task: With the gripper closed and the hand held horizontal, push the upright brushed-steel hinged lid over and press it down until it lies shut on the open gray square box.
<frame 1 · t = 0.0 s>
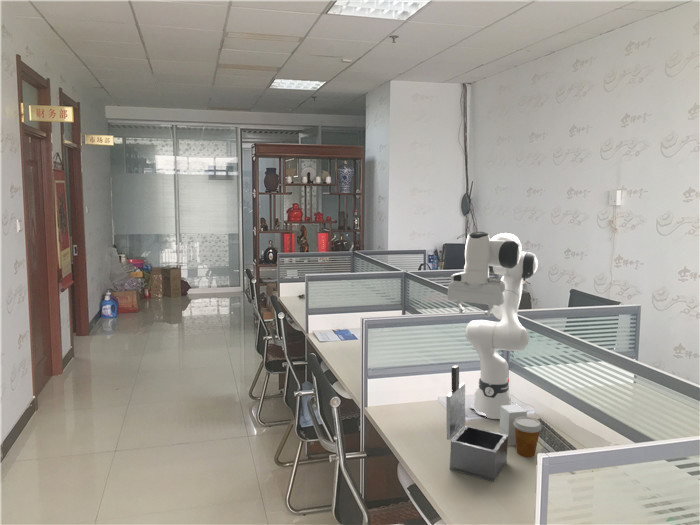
hand: (474, 314, 206), 48 cm above the table, tool pointing down, fingers open, 8 cm apart
open gray square box: (478, 466, 193), on the table
supplement box: (511, 441, 213), on the table
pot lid: (454, 399, 194), point 22 cm above the table, hinge at 93.0°
disposable coffee cup: (525, 454, 202), on the table
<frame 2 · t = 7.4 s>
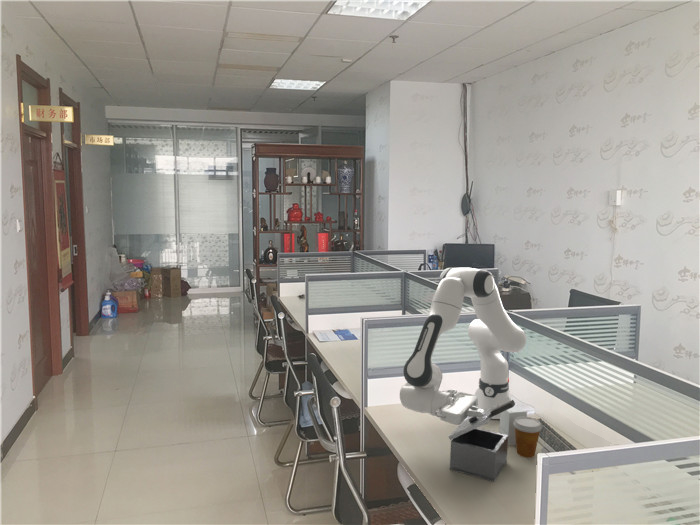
hand: (482, 413, 190), 19 cm above the table, tool horizontal, fingers closed, pressing on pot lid
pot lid: (483, 416, 190), point 18 cm above the table, hinge at 36.2°, touching gripper
everything else where it was.
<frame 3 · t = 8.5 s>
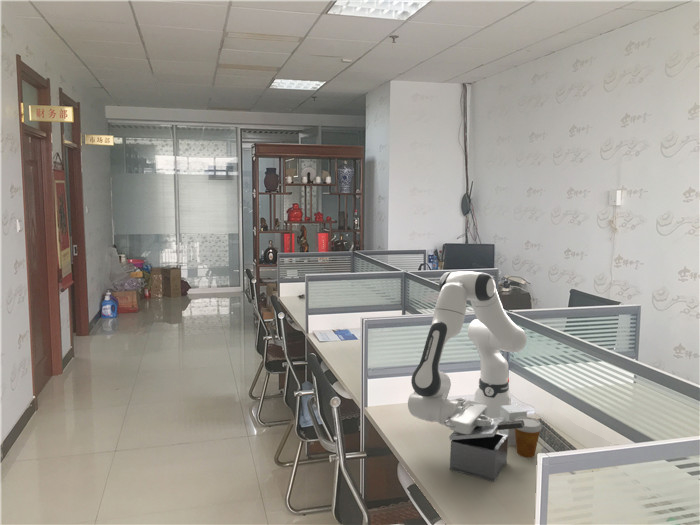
hand: (492, 422, 188), 16 cm above the table, tool horizontal, fingers closed
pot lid: (488, 425, 189), point 15 cm above the table, hinge at 18.4°
everything else where it was.
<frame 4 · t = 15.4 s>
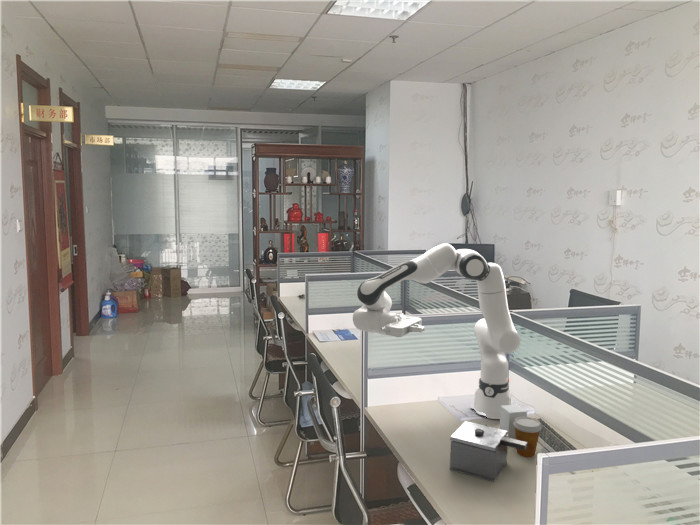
hand: (423, 329, 215), 40 cm above the table, tool horizontal, fingers closed
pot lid: (491, 436, 189), point 11 cm above the table, hinge at -0.1°
everything else where it was.
at the end: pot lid at +0° (first picture: +93°); supplement box moved 0.2 cm from its start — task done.
